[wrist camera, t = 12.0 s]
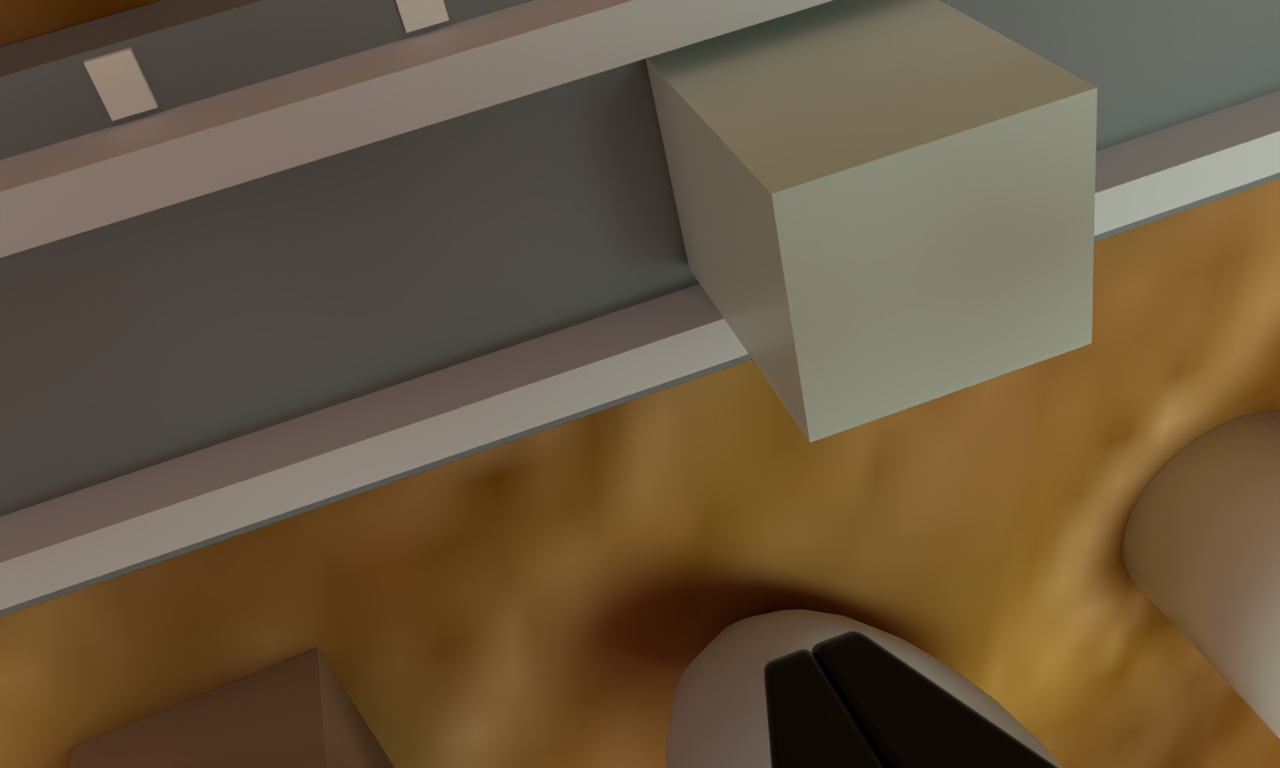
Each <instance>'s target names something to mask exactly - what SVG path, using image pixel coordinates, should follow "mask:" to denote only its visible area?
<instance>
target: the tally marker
mask: <svg viewBox="0 0 1280 768" xmlns="http://www.w3.org/2000/svg"><path fill="white" fill-rule="evenodd" d="M646 63H647V68H648V73H649V78H650V82H651V87H652V92H653V97H654V102H655V106H656V111H657V116H658V121H659V126H660V130H661V135H662V140H663V145H664V150H665V154H666V159H667V164H668V169H669V174H670V178H671V183H672V188H673V193H674V197H675V202H676V207H677V212H678V217H679V221H680V226H681V231H682V236H683V241H684V245H685V250H686V255H687V260H688V265H689V269H690V270H691V272H692V273H693V274H694V276H695V277H696V279H697V280H698V282H699V283H700V285H701V286H702V287H703V289H704V290H705V292H706V293H707V295H708V296H709V298H710V299H711V300H712V302H713V303H714V305H715V306H716V308H717V309H718V311H719V312H720V313H721V315H722V316H723V318H724V319H725V321H726V322H727V324H728V325H729V326H730V328H731V329H732V331H733V332H734V334H735V335H736V337H737V338H738V339H739V341H740V342H741V344H742V345H743V347H744V348H745V350H746V351H747V353H748V354H749V355H750V357H751V358H752V360H753V361H754V363H755V364H756V366H757V367H758V368H759V370H760V371H761V373H762V374H763V376H764V377H765V379H766V380H767V381H768V383H769V384H770V386H771V387H772V389H773V390H774V392H775V393H776V394H777V396H778V397H779V399H780V400H781V402H782V403H783V405H784V406H785V407H786V409H787V410H788V412H789V413H790V415H791V416H792V418H793V419H794V420H795V422H796V423H797V425H798V426H799V428H800V429H801V431H802V432H803V433H804V435H805V436H806V438H807V439H808V441H809V442H810V443H811V442H814V441H817V440H819V439H822V438H825V437H828V436H831V435H834V434H836V433H839V432H842V431H845V430H848V429H851V428H853V427H856V426H859V425H862V424H865V423H868V422H870V421H873V420H876V419H879V418H882V417H885V416H887V415H890V414H893V413H896V412H899V411H902V410H904V409H907V408H910V407H913V406H916V405H919V404H921V403H924V402H927V401H930V400H933V399H936V398H938V397H941V396H944V395H947V394H950V393H952V392H955V391H958V390H961V389H964V388H967V387H969V386H972V385H975V384H978V383H981V382H984V381H986V380H989V379H992V378H995V377H998V376H1001V375H1003V374H1006V373H1009V372H1012V371H1015V370H1018V369H1020V368H1023V367H1026V366H1029V365H1032V364H1035V363H1037V362H1040V361H1043V360H1046V359H1049V358H1052V357H1054V356H1057V355H1060V354H1063V353H1066V352H1069V351H1071V350H1074V349H1077V348H1080V347H1083V346H1086V345H1088V344H1091V343H1092V303H1093V259H1094V215H1095V172H1096V128H1097V87H1096V86H1094V85H1092V84H1090V83H1088V82H1086V81H1085V80H1083V79H1081V78H1079V77H1077V76H1076V75H1074V74H1072V73H1070V72H1068V71H1067V70H1065V69H1063V68H1061V67H1059V66H1058V65H1056V64H1054V63H1052V62H1050V61H1049V60H1047V59H1045V58H1043V57H1041V56H1040V55H1038V54H1036V53H1034V52H1032V51H1031V50H1029V49H1027V48H1025V47H1023V46H1022V45H1020V44H1018V43H1016V42H1014V41H1013V40H1011V39H1009V38H1007V37H1005V36H1004V35H1002V34H1000V33H998V32H996V31H994V30H993V29H991V28H989V27H987V26H985V25H984V24H982V23H980V22H978V21H976V20H975V19H973V18H971V17H969V16H967V15H966V14H964V13H962V12H960V11H958V10H957V9H955V8H953V7H951V6H949V5H948V4H946V3H944V2H942V1H940V0H833V1H830V2H826V3H823V4H820V5H817V6H813V7H810V8H807V9H804V10H800V11H797V12H794V13H791V14H788V15H784V16H781V17H778V18H775V19H771V20H768V21H765V22H762V23H758V24H755V25H752V26H749V27H745V28H742V29H739V30H736V31H733V32H729V33H726V34H723V35H720V36H716V37H713V38H710V39H707V40H703V41H700V42H697V43H694V44H690V45H687V46H684V47H681V48H678V49H674V50H671V51H668V52H665V53H661V54H658V55H655V56H652V57H648V58H646Z"/></svg>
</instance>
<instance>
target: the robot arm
mask: <svg viewBox="0 0 1280 768" xmlns="http://www.w3.org/2000/svg"><path fill="white" fill-rule="evenodd" d="M764 681H765V694H766V706H767V718H768V730H769V742H770V754H771V767H772V768H1058V767H1056V766H1055V765H1053V764H1052V763H1051V762H1049V761H1048V760H1046V759H1045V758H1043V757H1042V756H1040V755H1039V754H1037V753H1036V752H1035V751H1033V750H1032V749H1030V748H1029V747H1027V746H1026V745H1024V744H1023V743H1021V742H1020V741H1019V740H1017V739H1016V738H1014V737H1013V736H1011V735H1010V734H1008V733H1007V732H1005V731H1004V730H1003V729H1001V728H1000V727H998V726H997V725H995V724H994V723H992V722H991V721H989V720H988V719H987V718H985V717H984V716H982V715H981V714H979V713H978V712H976V711H975V710H973V709H972V708H971V707H969V706H968V705H966V704H965V703H963V702H962V701H960V700H959V699H957V698H956V697H955V696H953V695H952V694H950V693H949V692H947V691H946V690H944V689H943V688H941V687H940V686H939V685H937V684H936V683H934V682H933V681H931V680H930V679H928V678H927V677H925V676H924V675H923V674H921V673H920V672H918V671H917V670H915V669H914V668H912V667H911V666H909V665H908V664H907V663H905V662H904V661H902V660H901V659H899V658H898V657H896V656H895V655H893V654H892V653H891V652H889V651H888V650H886V649H885V648H883V647H882V646H880V645H879V644H877V643H876V642H875V641H873V640H872V639H870V638H869V637H867V636H866V635H864V634H862V633H860V632H856V631H850V632H846V633H843V634H841V635H838V636H835V637H833V638H830V639H827V640H825V641H822V642H819V643H817V644H816V645H814V647H813V648H812V653H811V652H810V651H809V650H806V649H801V650H798V651H795V652H792V653H790V654H787V655H784V656H782V657H779V658H776V659H774V660H771V661H769V662H767V664H766V665H765V667H764Z"/></svg>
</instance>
